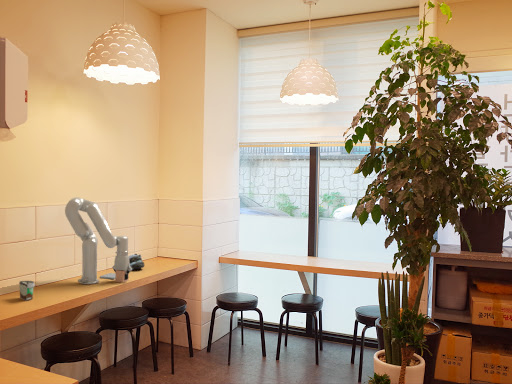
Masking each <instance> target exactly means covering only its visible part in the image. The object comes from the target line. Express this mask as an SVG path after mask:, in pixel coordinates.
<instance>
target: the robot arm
mask: <svg viewBox="0 0 512 384" xmlns="http://www.w3.org/2000/svg"><path fill="white" fill-rule="evenodd" d="M80 212H83V213H86V214H87V216H88V217H89V219H90V221H91V222H92V224H93V226H94V227H95V230H96V231H97V233H98V235H99V237H100V238H101V240H102V242H103V243H104V245H105V247H107V248H108V249H113V248H115V247H116V251H115V254H116V255H115V257H114V264H113V266H112V267H111V268H112V269H113V272H114V273H115V272H116V270H122V271H125V280H127V279H128V274H130V273H131V271H133V270H132V268H131V267H130V263H129V256H130V255H129V238H128V237H129V236H126V235H120V236H119V235H113V234H112V231H111V230H110V227H109V224H108V221H107V219H106V217H105V216H104V214H103V212H102V211H101V209H100V205H99V204H98V203H97V202H94V201H92V200H87V199H85V198H81V197H77V196H76V197H73V198H71V199H70V200H69V201H68V202H67V203H66V205H65V208H64V214H65V217H66V219H67V221H68V223H69V225H70V226H71V228H72V230H73V231H74V234H75V235H76V236H77V237H79V238H80V240H81V241H82V244H81V252H82V253H81V254H82V255H81V258H82V260H81V264H82V265H81V267H82V270H81V272H82V274H81V275H82V276H81V277H80V278H79V279H78V280H77V282H78V283H80V284H81V285H93V284H98V283H99V282H100V279H98V277H97V276H98V245H99V244H98V243H99V240H98V238H97V236H96V234H95V233H94V230H93V229H92V227H91V226H90V225H89V224H88V222H85V220H84V219H83V218H82V216H81V214H80ZM128 269H129V270H128ZM126 270H127V271H126Z"/></svg>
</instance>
